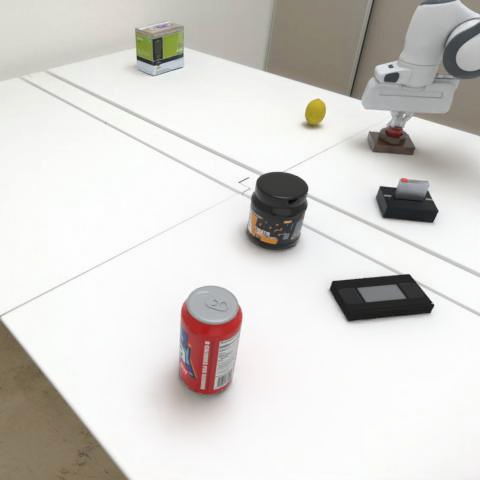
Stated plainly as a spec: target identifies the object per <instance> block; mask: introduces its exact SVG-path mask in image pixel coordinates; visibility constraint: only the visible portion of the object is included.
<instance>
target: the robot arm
mask: <svg viewBox="0 0 480 480" xmlns="http://www.w3.org/2000/svg"><path fill="white" fill-rule="evenodd" d="M441 63H442V65H443V68H444V70H445V71H446V73H441V72H439V73H438V70H439V68H440V65H441ZM373 73H374V76H372V77H371V78H370V79H369V80H368V82H367V83H366V86H365V88H364V90H363V93H362V97H361V100H360V101H361V106H362V107H363V108H364V109H365V110H369V111H370V110H371V111H372V110H373V111H386V112H387V111H388V112H389V113H390V116H391V119H392V122H391V127H398V128H403V129H404V128H405V127H406V123H407V122H408V121H410V120H411V119H412V118H413V117H414V115H415V113H421V114H437V115H438V114H439V115H440V114H441V115H444V114H446V113H447V112H449V111H450V110H451V107H452V103H453V100H454V94H455V92H456V91H457V89H458V87H459V84H460V80H474V79H478V78H480V13H477V12H475V11H473V10H472V9H470V8H468V7H467V6H466V5H465V4H463V3H462V1H461V0H423V1H421V2H420V3H419V5H418V6H417V7H416V9H415V10H414V12H413V15H412V17H411V19H410V22H409V25H408V27H407V31H406V34H405V37H404V47H403V50H402V52H400V54H399V57H398V59H397V60H394V61H390V62H386V63H381V64H379V65H376V66H375V67H374V70H373ZM399 111H403V112H405V114H404V115H403V118H402V119H396V117H395V115H398V112H399Z"/></svg>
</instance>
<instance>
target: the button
mask: <svg viewBox="0 0 480 480" xmlns="http://www.w3.org/2000/svg"><path fill="white" fill-rule="evenodd" d="M402 131H404V128H398V127H391V125H390V126H388V129H387V132H386V134H388V135H391V136H396V137H399V136H401V134H402Z"/></svg>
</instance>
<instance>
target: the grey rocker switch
mask: <svg viewBox="0 0 480 480" xmlns="http://www.w3.org/2000/svg"><path fill="white" fill-rule="evenodd" d="M430 186H431V184H430V183H429V181H428V180H422V179H408V178H407V177H406V178H405V177H401V178H399V180H398V183H397V186H396V191H395V193H394V196H395V198H396V199H407V200H418V201H423V200H424V197H425V195H426V193H427V190H428V191H429V187H430Z"/></svg>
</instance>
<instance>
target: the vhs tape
mask: <svg viewBox="0 0 480 480" xmlns="http://www.w3.org/2000/svg"><path fill="white" fill-rule="evenodd" d="M329 292H330V293H331V294H332V296H333V298H334V300H335V301H336V303H337V305H338V307H339V308H340V311H342V314H343V315H344V317H345V319H346V320H347V322H357V321H364V320H365V321H366V320H375V319H384V318H396V317H404V316H405V317H406V316H414V315H415V316H416V315H425V314H431V313H432V311H433V309H434V308H435V304H434V302H433V301H432V300H431V298H430V297H429V296H428V295H427V294H426V292H425V291H424V290H423V288H422V287H421V286H420V284H418V282H417V281H416V280H415V279H414V277H413V276H412V275H411V274H410V273H404V274H392V275H391V274H390V275H381V276H369V277H361V278H349V279H338V280H332V281H331V284H330V287H329Z"/></svg>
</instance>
